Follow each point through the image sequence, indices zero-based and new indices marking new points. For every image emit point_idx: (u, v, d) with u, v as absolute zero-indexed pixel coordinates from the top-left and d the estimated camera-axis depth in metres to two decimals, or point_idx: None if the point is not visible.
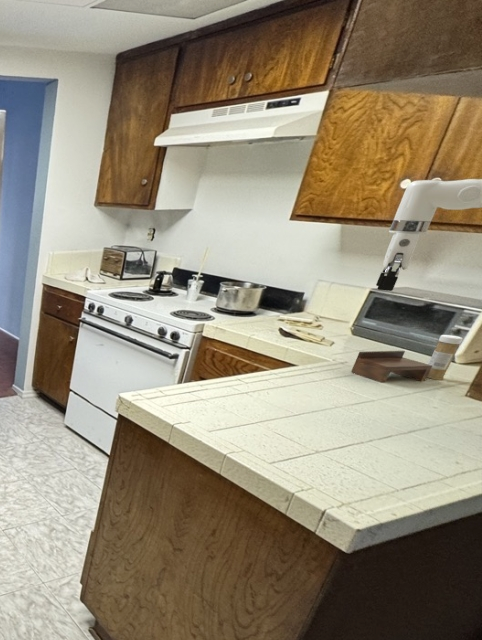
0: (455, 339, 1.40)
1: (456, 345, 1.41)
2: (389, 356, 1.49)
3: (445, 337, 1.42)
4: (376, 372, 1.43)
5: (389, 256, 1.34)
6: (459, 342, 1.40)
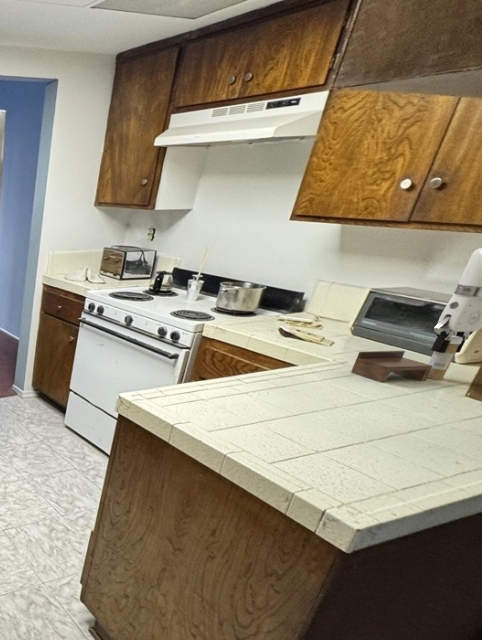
0: (455, 339, 1.40)
1: (456, 345, 1.41)
2: (389, 356, 1.49)
3: None
4: (376, 372, 1.43)
5: (440, 316, 1.41)
6: (459, 342, 1.40)
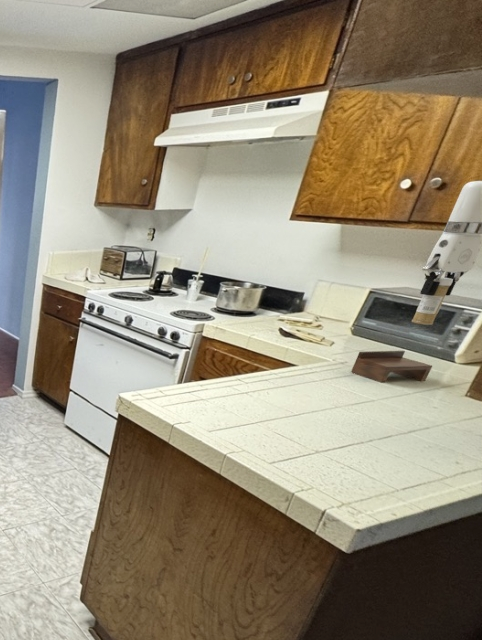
0: (445, 280, 1.34)
1: (446, 287, 1.34)
2: (389, 356, 1.49)
3: None
4: (376, 372, 1.43)
5: (429, 257, 1.34)
6: (449, 283, 1.34)
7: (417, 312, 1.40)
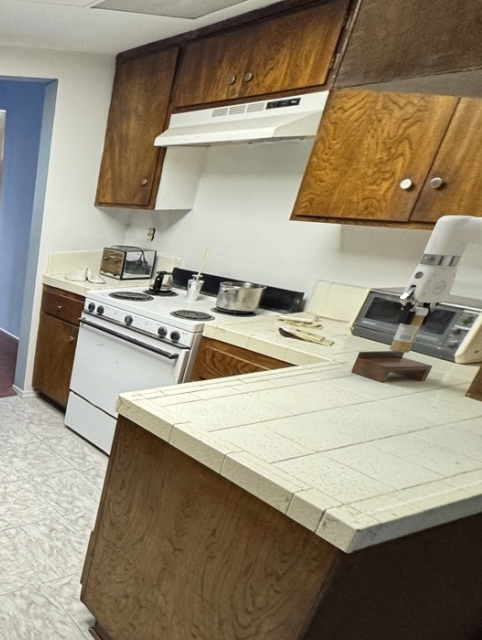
0: (420, 310, 1.37)
1: (422, 316, 1.38)
2: (389, 356, 1.49)
3: None
4: (376, 372, 1.43)
5: None
6: (425, 313, 1.37)
7: (394, 340, 1.43)
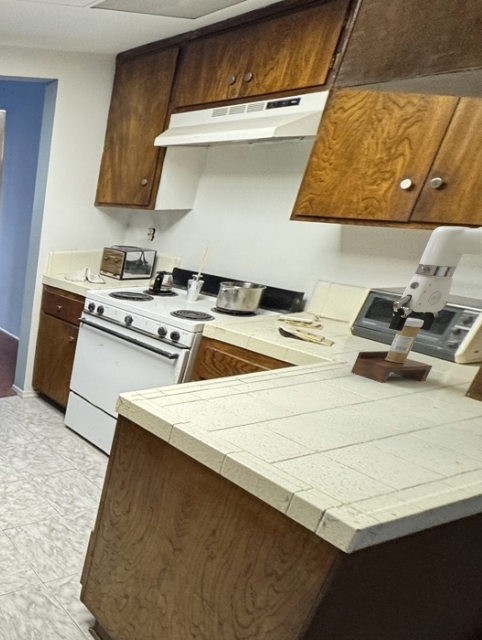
0: (416, 322, 1.38)
1: (417, 328, 1.39)
2: None
3: (406, 320, 1.40)
4: (376, 372, 1.43)
5: None
6: (420, 325, 1.38)
7: (390, 351, 1.44)
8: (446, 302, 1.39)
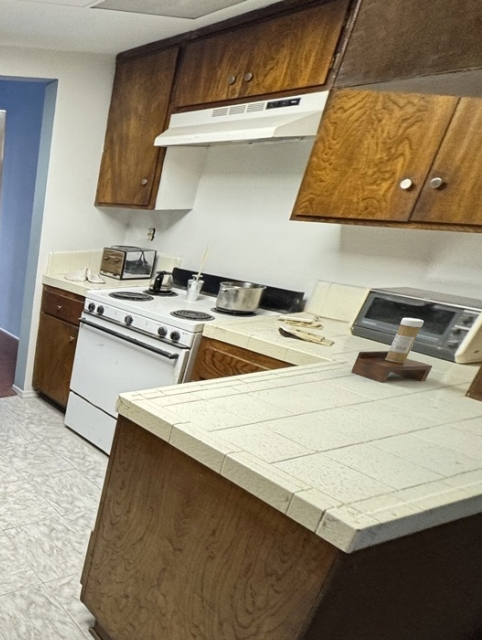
0: (416, 322, 1.38)
1: (417, 328, 1.39)
2: None
3: (406, 320, 1.40)
4: (376, 372, 1.43)
5: None
6: (420, 325, 1.38)
7: (390, 351, 1.44)
8: None
